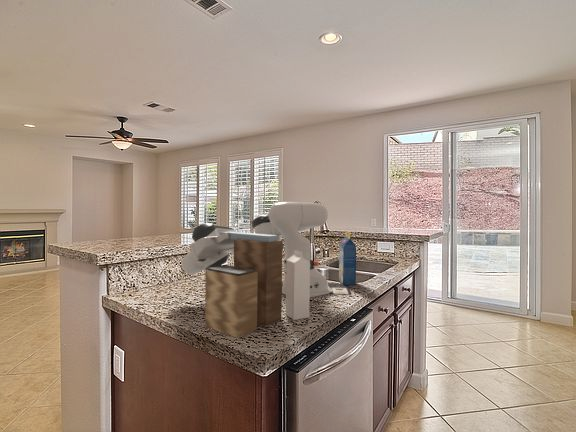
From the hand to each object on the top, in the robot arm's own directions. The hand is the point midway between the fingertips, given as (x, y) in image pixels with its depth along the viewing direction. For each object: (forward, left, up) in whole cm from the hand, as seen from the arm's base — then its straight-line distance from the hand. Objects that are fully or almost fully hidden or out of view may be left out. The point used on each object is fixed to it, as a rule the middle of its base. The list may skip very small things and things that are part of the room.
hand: (234, 233), depth 109 cm
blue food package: (-62, -20, -28) cm, 70 cm away
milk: (-19, +12, -28) cm, 36 cm away
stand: (-5, +9, -27) cm, 29 cm away
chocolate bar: (-52, -12, -28) cm, 60 cm away
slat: (-3, +5, -1) cm, 6 cm away
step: (+5, +14, -27) cm, 31 cm away
